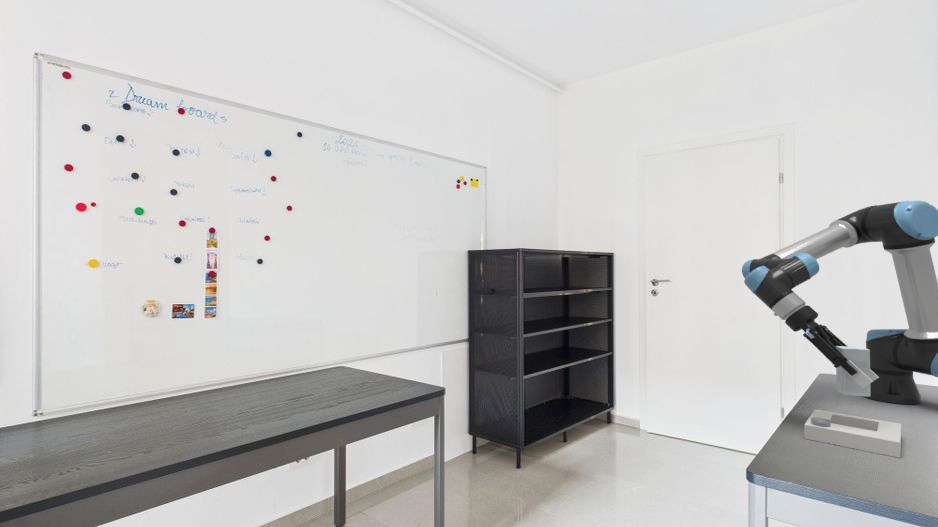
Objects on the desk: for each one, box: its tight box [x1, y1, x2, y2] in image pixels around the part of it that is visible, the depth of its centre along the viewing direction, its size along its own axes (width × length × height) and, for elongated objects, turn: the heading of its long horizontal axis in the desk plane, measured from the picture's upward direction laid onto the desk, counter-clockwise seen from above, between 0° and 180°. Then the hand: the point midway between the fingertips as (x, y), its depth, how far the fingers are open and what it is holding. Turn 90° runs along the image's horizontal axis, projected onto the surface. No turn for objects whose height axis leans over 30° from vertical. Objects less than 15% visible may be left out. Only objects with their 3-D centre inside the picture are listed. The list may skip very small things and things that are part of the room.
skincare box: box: [835, 345, 871, 397], centre depth 123 cm, size 6×4×12 cm
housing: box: [803, 409, 902, 459], centre depth 121 cm, size 18×18×5 cm
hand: (870, 382), depth 120 cm, fingers closed on skincare box, 6 cm apart
